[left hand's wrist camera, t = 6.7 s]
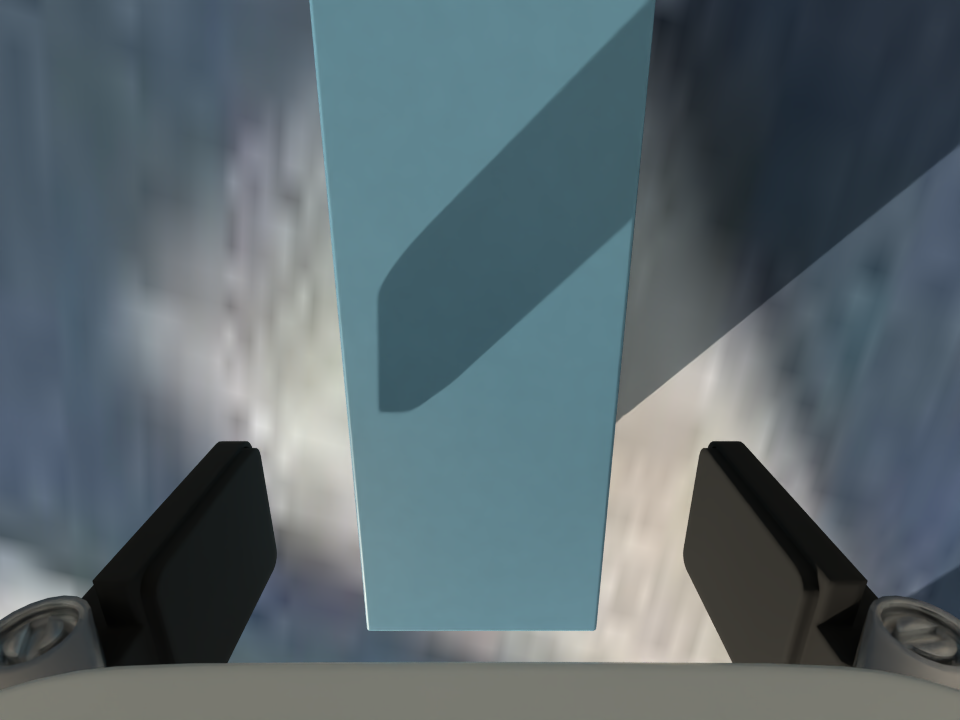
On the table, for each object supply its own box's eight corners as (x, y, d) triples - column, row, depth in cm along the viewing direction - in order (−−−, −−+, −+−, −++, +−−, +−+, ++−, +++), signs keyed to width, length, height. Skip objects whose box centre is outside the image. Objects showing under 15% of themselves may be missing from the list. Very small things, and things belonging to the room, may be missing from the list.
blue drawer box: (379, -16, 16) (291, -172, 9) (583, -15, 16) (673, -171, 9) (405, 472, 22) (366, 632, 14) (556, 472, 22) (596, 632, 14)
